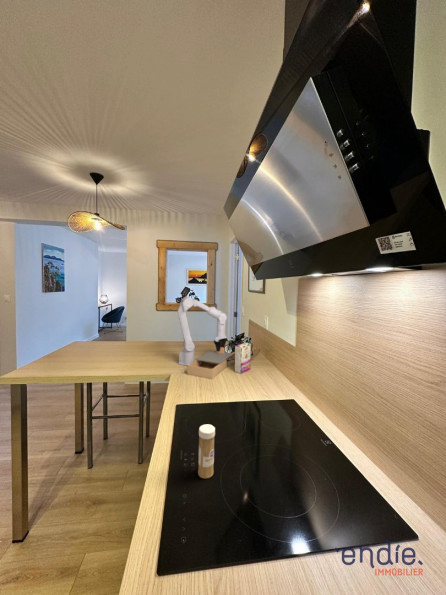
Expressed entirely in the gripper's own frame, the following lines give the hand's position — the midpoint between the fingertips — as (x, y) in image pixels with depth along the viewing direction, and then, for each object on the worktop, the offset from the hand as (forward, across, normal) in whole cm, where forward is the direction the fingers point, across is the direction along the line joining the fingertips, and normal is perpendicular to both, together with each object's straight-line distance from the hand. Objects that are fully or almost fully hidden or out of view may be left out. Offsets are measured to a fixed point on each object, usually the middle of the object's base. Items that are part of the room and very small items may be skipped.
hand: (220, 349), depth 173 cm
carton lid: (+3, -9, 0) cm, 9 cm away
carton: (+8, -19, 0) cm, 21 cm away
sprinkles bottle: (+9, -94, -35) cm, 101 cm away
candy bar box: (+9, -9, -19) cm, 23 cm away
